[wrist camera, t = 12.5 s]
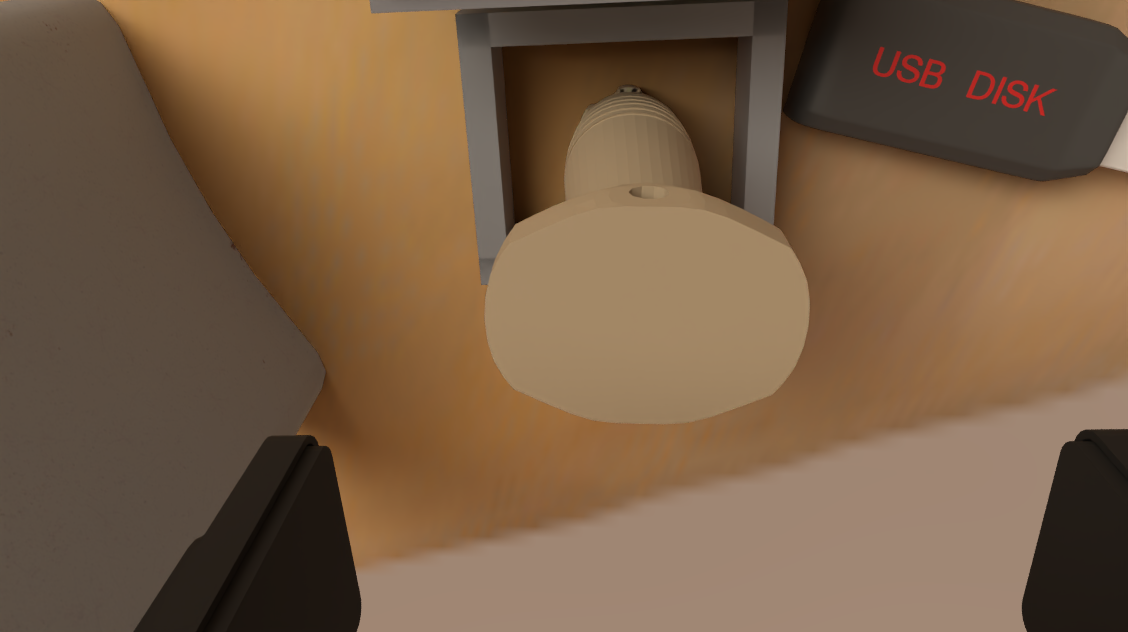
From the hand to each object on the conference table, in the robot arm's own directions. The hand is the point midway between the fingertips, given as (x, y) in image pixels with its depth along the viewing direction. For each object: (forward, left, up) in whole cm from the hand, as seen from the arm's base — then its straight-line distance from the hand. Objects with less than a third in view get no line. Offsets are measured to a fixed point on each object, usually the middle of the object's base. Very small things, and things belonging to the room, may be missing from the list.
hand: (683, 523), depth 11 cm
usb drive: (-12, -1, -22) cm, 25 cm away
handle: (0, 0, -22) cm, 22 cm away
